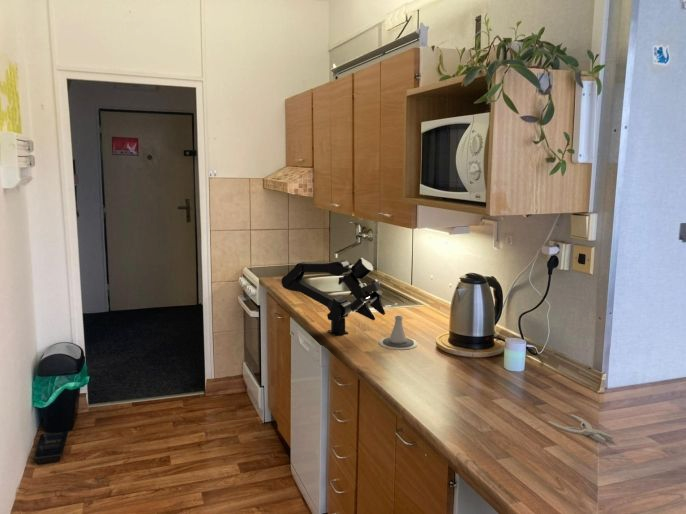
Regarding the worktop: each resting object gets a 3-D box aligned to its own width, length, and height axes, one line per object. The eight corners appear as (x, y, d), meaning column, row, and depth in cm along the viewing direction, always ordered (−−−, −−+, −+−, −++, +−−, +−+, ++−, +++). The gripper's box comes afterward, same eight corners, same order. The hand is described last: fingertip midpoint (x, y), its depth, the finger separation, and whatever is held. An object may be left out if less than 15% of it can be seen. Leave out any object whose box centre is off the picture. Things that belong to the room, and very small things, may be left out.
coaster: (371, 340, 221) (371, 338, 221) (402, 335, 229) (402, 333, 228) (393, 352, 208) (393, 350, 208) (425, 346, 216) (425, 344, 216)
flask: (410, 343, 216) (410, 318, 214) (392, 344, 214) (393, 319, 212) (403, 338, 223) (404, 313, 221) (386, 339, 221) (386, 314, 219)
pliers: (572, 411, 157) (621, 433, 144) (572, 416, 158) (620, 439, 145) (547, 418, 153) (595, 442, 140) (547, 423, 153) (595, 448, 140)
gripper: (357, 277, 212) (383, 310, 209) (378, 270, 229) (402, 300, 225) (339, 295, 218) (363, 327, 214) (361, 286, 234) (384, 316, 230)
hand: (379, 317), depth 221 cm, fingers open, 9 cm apart
